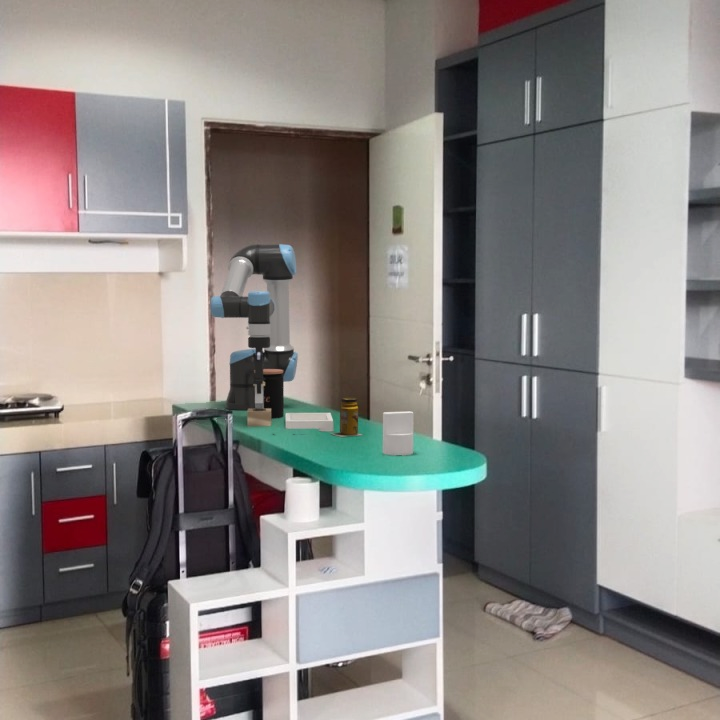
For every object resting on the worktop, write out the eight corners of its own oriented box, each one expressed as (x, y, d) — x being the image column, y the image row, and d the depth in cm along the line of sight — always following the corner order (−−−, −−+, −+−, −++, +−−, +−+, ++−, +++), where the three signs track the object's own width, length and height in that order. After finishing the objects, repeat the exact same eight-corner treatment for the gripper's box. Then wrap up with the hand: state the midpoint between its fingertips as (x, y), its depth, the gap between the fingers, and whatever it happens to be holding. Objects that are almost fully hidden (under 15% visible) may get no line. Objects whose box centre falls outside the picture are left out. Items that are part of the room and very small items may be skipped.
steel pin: (253, 423, 330) (253, 381, 329) (265, 423, 331) (265, 381, 329) (253, 425, 326) (253, 382, 325) (265, 425, 327) (264, 382, 325)
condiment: (363, 435, 313) (363, 399, 312) (341, 437, 309) (341, 400, 308) (351, 432, 319) (351, 396, 318) (329, 434, 315) (329, 398, 314)
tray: (285, 422, 339) (285, 413, 339) (330, 422, 341) (330, 412, 340) (285, 431, 319) (285, 421, 319) (333, 431, 321) (333, 420, 320)
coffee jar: (248, 418, 349) (248, 369, 347) (273, 416, 355) (273, 368, 354) (263, 422, 340) (263, 372, 339) (289, 419, 347) (289, 370, 345)
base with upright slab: (388, 456, 276) (388, 415, 275) (378, 450, 284) (379, 411, 283) (417, 454, 278) (417, 414, 277) (407, 449, 287) (407, 410, 286)
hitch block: (248, 425, 332) (248, 408, 332) (271, 425, 333) (271, 408, 332) (247, 429, 324) (247, 411, 324) (270, 428, 325) (270, 411, 324)
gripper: (249, 334, 337) (249, 397, 338) (246, 338, 315) (247, 405, 317) (270, 334, 337) (270, 397, 339) (269, 338, 315) (269, 405, 317)
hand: (259, 401), depth 328 cm, fingers open, 9 cm apart
